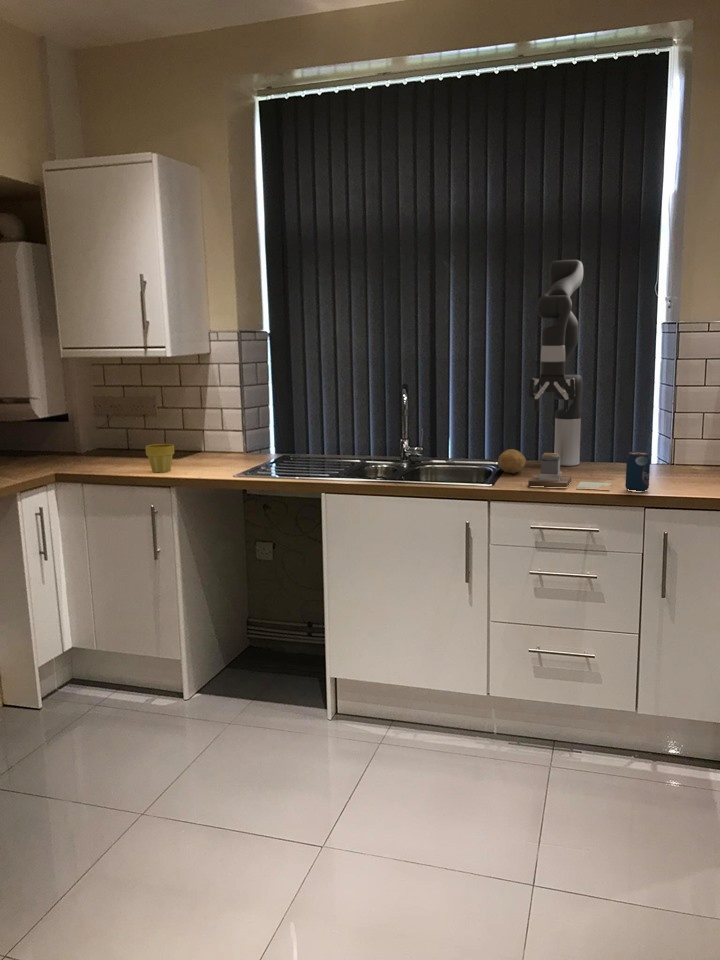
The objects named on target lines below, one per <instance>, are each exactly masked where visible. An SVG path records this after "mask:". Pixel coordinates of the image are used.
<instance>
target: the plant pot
mask: <svg viewBox="0 0 720 960" xmlns="http://www.w3.org/2000/svg"><path fill="white" fill-rule="evenodd" d="M144 448H145V455H146V456H147V458H148V462H149V464H150V468H151V471H152V473H156V472H162V473H168V472H167V471H169V472H171V471H172V470H171V468H172V463H173V456H174V454H175V445H174V444H171V443H155V444H149V445H148V444H147V445H146V446H145V447H144Z"/></svg>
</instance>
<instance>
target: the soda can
mask: <svg viewBox="0 0 720 960" xmlns="http://www.w3.org/2000/svg"><path fill="white" fill-rule="evenodd" d="M625 464H626V468H625V484H624V485H625V488H626V490H627V489H629V490H636V491H645V490H648V489H649V488H650V487H649V486H650V472H651V471H650V470H651V457H650V456H649V452H647V451H629V452H628V455H627V457H626V462H625Z"/></svg>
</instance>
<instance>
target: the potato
mask: <svg viewBox="0 0 720 960" xmlns="http://www.w3.org/2000/svg"><path fill="white" fill-rule="evenodd" d="M526 462H527V459H526V457H525V455H523V453H521V451H519V450H518V449H517V450H516V449H513V448H511V449H506V450H504V451H503V452H502V453H501V454H499V457H498V459H497V463H498V466H499V469H501V470H502V471H504V472H505V473H507V474H508V473H509V474H516V473H518V472H521V471H522V470H523V469H524V467H525V466H526Z"/></svg>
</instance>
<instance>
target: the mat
mask: <svg viewBox="0 0 720 960" xmlns="http://www.w3.org/2000/svg"><path fill="white" fill-rule="evenodd" d="M611 484H612V485H613V483H612V482H611V483H610V482H594V481H591V482H590V481H579V483H578V484H577V486H576V488H577V487H579V488H581V487H582V488H585V487H589V488H595V487H596V488H599V487H600V486H602V485H604V486H609V485H611Z"/></svg>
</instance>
